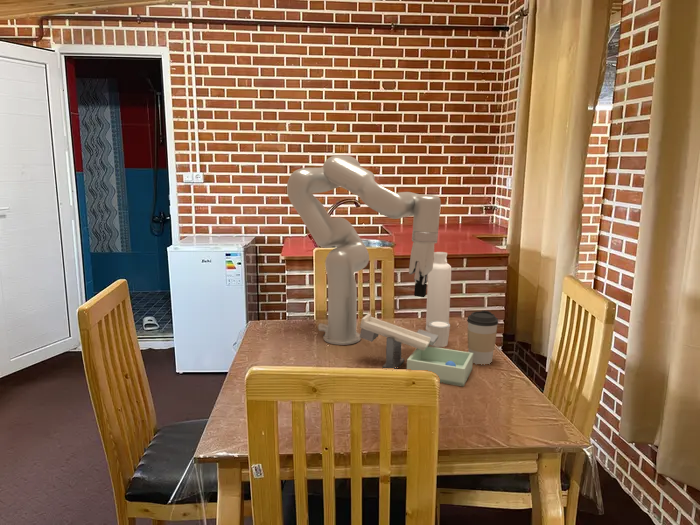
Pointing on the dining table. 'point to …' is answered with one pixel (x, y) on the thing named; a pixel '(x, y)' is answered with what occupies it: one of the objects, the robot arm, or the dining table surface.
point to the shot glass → (440, 332)
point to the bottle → (438, 290)
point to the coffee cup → (482, 336)
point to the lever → (395, 333)
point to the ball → (450, 363)
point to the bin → (443, 364)
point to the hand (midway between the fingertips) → (419, 295)
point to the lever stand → (393, 354)
